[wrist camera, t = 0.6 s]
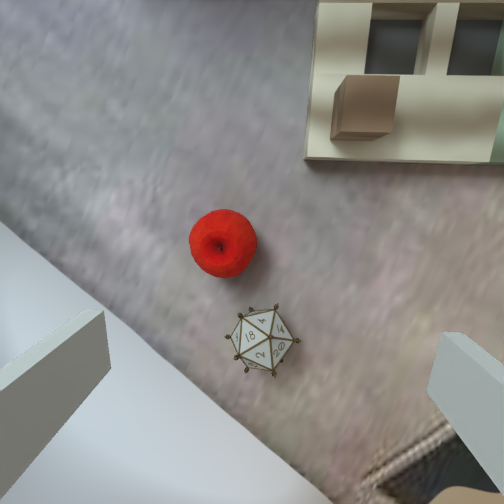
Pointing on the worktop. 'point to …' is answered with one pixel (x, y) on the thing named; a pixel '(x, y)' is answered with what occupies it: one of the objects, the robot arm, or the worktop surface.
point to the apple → (223, 243)
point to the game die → (261, 339)
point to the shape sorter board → (413, 78)
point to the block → (364, 107)
